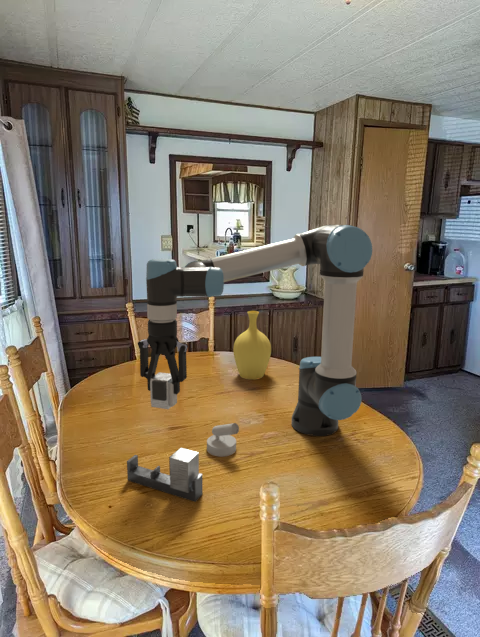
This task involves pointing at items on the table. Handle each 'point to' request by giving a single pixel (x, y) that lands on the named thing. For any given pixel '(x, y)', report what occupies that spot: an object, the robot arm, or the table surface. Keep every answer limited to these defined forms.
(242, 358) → the vase
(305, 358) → the robot arm
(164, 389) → the light grey block
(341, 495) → the table surface
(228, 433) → the wall hook
